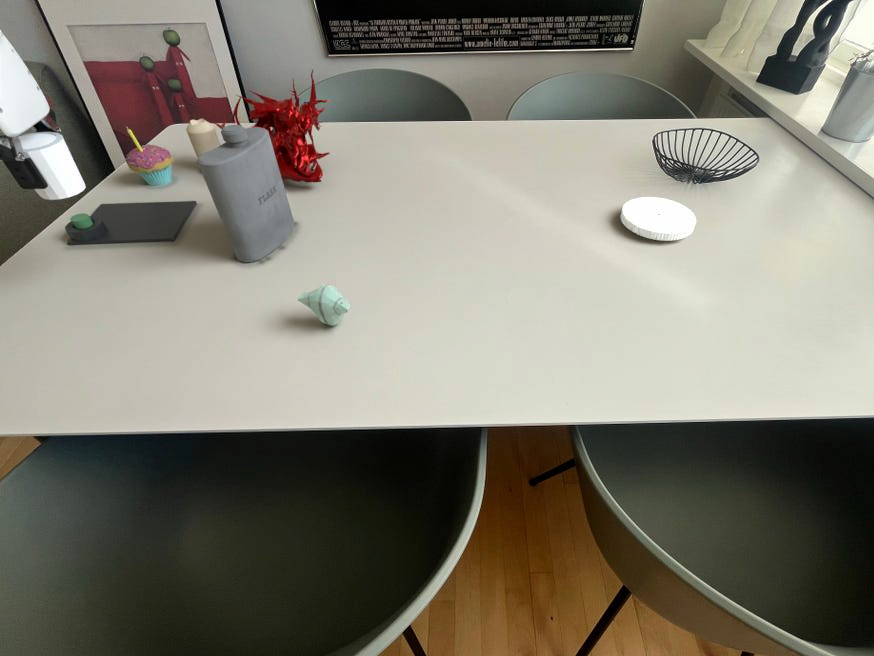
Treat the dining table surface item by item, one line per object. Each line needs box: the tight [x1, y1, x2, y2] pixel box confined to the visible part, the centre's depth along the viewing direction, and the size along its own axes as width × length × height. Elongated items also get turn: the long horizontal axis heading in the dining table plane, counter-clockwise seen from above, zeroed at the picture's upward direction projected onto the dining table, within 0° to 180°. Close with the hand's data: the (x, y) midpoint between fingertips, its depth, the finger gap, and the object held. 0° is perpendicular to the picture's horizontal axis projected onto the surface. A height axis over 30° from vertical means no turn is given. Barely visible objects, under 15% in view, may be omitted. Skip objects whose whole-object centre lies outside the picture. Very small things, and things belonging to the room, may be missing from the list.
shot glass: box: [3, 132, 86, 201], centre depth 67 cm, size 7×7×7 cm
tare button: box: [69, 212, 93, 229], centre depth 86 cm, size 3×3×2 cm
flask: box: [196, 124, 296, 263], centre depth 81 cm, size 15×6×20 cm, turn 165°
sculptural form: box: [212, 69, 331, 183], centre depth 104 cm, size 20×25×22 cm
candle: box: [185, 117, 222, 159], centre depth 105 cm, size 6×6×10 cm
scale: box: [64, 200, 198, 246], centre depth 91 cm, size 18×14×2 cm
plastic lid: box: [620, 196, 697, 242], centre depth 94 cm, size 14×14×2 cm
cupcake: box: [125, 126, 174, 186], centre depth 99 cm, size 9×8×12 cm
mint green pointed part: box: [296, 284, 351, 326], centre depth 71 cm, size 8×4×7 cm, turn 75°
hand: (50, 174), depth 67 cm, fingers closed on shot glass, 6 cm apart
